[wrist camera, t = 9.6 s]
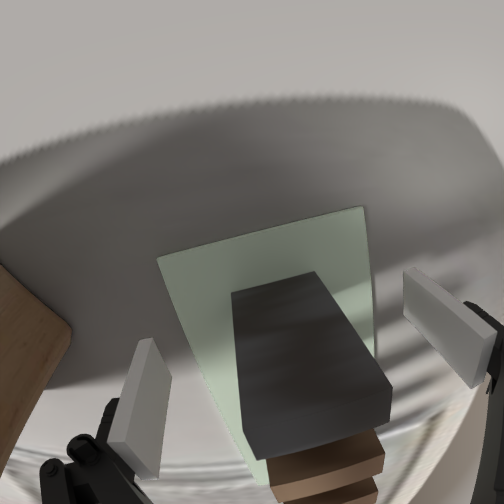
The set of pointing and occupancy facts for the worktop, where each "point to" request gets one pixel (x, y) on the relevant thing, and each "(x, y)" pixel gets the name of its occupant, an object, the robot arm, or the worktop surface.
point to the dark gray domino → (302, 369)
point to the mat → (258, 273)
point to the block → (25, 356)
